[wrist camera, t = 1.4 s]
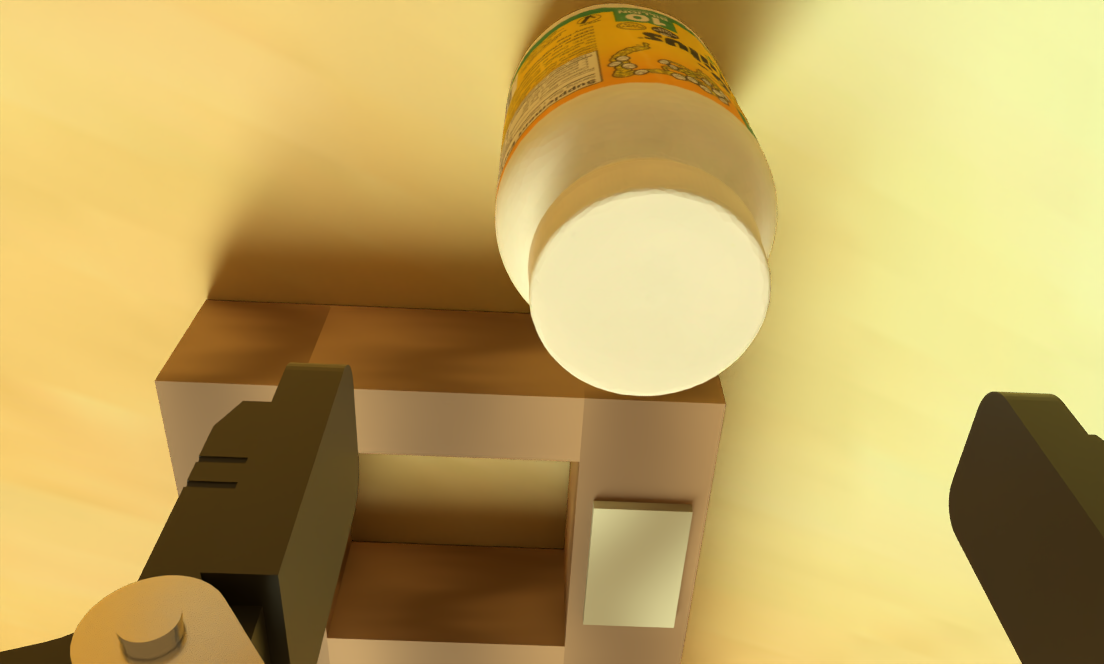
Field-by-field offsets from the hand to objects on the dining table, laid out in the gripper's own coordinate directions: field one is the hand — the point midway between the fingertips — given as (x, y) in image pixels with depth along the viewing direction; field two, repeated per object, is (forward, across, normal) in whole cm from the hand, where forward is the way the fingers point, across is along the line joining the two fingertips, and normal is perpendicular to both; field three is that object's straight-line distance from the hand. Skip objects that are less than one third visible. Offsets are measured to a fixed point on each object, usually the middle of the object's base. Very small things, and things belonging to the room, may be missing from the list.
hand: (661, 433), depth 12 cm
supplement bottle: (+14, 0, 0) cm, 14 cm away
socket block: (+13, +4, +16) cm, 21 cm away
